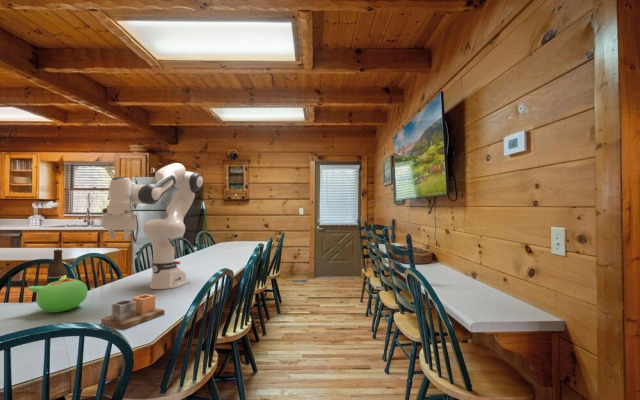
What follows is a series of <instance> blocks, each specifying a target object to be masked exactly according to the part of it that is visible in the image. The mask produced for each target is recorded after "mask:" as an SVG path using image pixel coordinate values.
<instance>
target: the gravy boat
mask: <svg viewBox="0 0 640 400" xmlns="http://www.w3.org/2000/svg"><path fill="white" fill-rule="evenodd" d="M27 290H29V291H31V292H35V293H37V295H36V304H37V305H38V307H39V309H41V310H43V311H45V312H48V313H61V312H66V311H70V310H72V309H74V308H76V307H78V306H79V305H81V304H82V303H83V302H84V301H85V300H86V298H87V295H88V286H87V284H85V282H83V281H81V280H79V279H77V278H68V275H67V276H66V275H64V276H62V277H61V278H60V279H59V280H57V281H54V282H52V283H49V284H48V283H46V285H32V286H28V287H27Z"/></svg>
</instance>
